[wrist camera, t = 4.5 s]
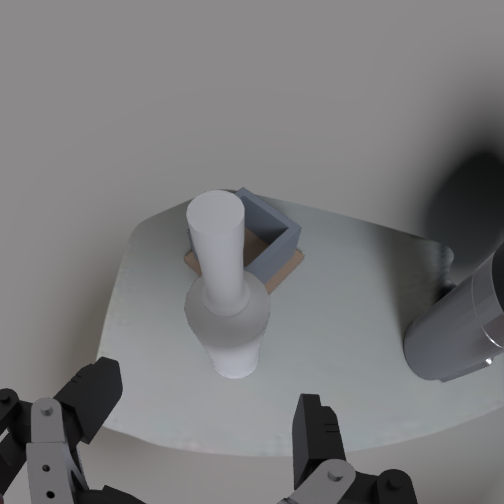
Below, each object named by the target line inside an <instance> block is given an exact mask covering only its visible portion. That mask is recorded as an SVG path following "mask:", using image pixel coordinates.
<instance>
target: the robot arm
mask: <svg viewBox="0 0 504 504" xmlns="http://www.w3.org/2000/svg"><path fill="white" fill-rule="evenodd" d="M404 352H405V357H406V360H407V362H408V364H409V366H410V368H411V369H412V370H413V371H414V373H416V374H417V375H418V376H419V377H421V378H424V379H427V380H436V379H439V380H441V381H442V382H447V381H450V380H453V379H456V378H458V377H461V376H464V375H467V374H469V373H472V372H475V371H477V370H480V369H482V368H485V367H487V366H489V365H491V363H492V361H493V358H494V357H495V356H497V355H499V354H501V353H503V352H504V243H503V244H502V245H501V246H500V247H499V248H498V249H497V250H496V251H495V252H494V253H493V254H492V255H491V256H490V257H489V258H488V259H487V260H486V261H484V262H483V263H482V264H481V265H480V266H479V267H478V268H477V269H476V270H475V271H474V272H473V273H472V274H470V275H469V276H468V277H467V278H466V279H465V280H464V281H462V282H461V283H460V284H459V285H458V286H457V287H455V288H454V289H453V290H452V291H451V292H449V293H448V294H447V295H446V296H444V297H443V298H442V299H441V300H439V301H438V302H437V303H436V304H434V305H433V306H432V307H431V308H429V309H428V310H427V311H425V312H423V313H422V314H421V315H420V316H418V317H417V318H416V319H415V320H414V321H413V322H412V323H411V324H410V325H409V327H408V329H407V331H406V334H405V338H404ZM122 391H123V386H122V380H121V374H120V367H119V363H118V361H116V360H113V359H109V358H106V357H100V358H99V359H98V361H97V362H96V363H95V364H94V365H93V364H89V365H87V366H85V367H83V368H81V369H80V370H79V371H78V372H77V373H76V376H74V377H73V378H72V379H71V381H69V382H68V383H67V384H66V385H65V386H64V387H63V388H62V389H61V390H60V391H59V392H58V393H57V394H56V395H55V396H54V397H53V398H41V399H38V400H37V401H35V402H34V403H29V402H25V401H21V400H19V398H18V395H17V393H16V392H15V391H13V390H12V389H8V388H5V389H1V390H0V435H1V434H2V433H3V432H4V430H5V429H6V428H7V430H8V432H9V433H8V434H7V435H6V436H5V438H4V439H3V440H2V441H1V442H0V504H4V499H3V495H4V494H5V492H6V491H7V489H8V487H9V486H10V484H11V482H12V481H13V480H14V478H15V477H16V475H17V474H18V472H19V471H20V469H21V468H22V466H23V465H24V463H25V462H26V460H27V469H28V479H29V488H30V495H31V502H32V504H146V503H144V502H142V501H141V500H139V499H137V498H135V497H134V496H132V495H130V494H127V493H125V492H122V491H119V490H117V489H114V488H112V487H109V486H107V485H105V486H104V488H103V490H90V489H89V487H88V485H87V482H86V479H85V476H84V472H83V467H82V463H81V459H80V455H79V450H78V446H77V444H78V443H79V441H82V442H84V443H86V444H90V442H91V440H92V439H93V438H94V436H95V435H96V433H97V432H98V430H99V429H100V427H101V426H102V424H103V423H104V421H105V420H106V418H107V417H108V416H109V414H110V413H111V411H112V410H113V408H114V407H115V405H116V404H117V402H118V401H119V399H120V398H121V395H122ZM292 440H293V467H294V490H296V491H295V492H293V493H292V494H291V495H290V496H289V497H288V498H284V499H282V500H281V501H280V502H278V503H277V504H418V503H417V499H416V495H415V492H414V488H413V485H412V481H411V479H410V477H409V476H408V474H406V473H405V472H403V471H401V470H397V469H390V470H386V471H384V472H382V473H381V474H380V475H379V476H375V475H368V474H364V473H360V472H357V471H355V470H354V468H353V466H352V465H351V464H349V463H348V462H347V461H346V457H345V453H344V448H343V443H342V439H341V434H340V429H339V426H338V420H337V416H336V414H335V413H334V411H333V410H332V409H331V408H330V406H321V402H320V397H319V395H318V394H301V395H300V397H299V401H298V405H297V408H296V412H295V415H294V419H293V425H292Z"/></svg>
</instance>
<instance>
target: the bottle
mask: <svg viewBox="0 0 504 504" xmlns="http://www.w3.org/2000/svg"><path fill="white" fill-rule="evenodd" d="M186 216H187V221H188V225H189V229H190V233H191V237H192V241H193V245H194V248H195V252H196V253H197V255H198V259H199V263H200V267H201V271H202V276H201V277H199V278H198V279H197V280H195V282H194V283H193V285H192V286H191V288H190V290H189V291H188V293H187V296H186V302H185V313H186V317H187V320H188V324H189V326H190V327H191V329H192V330H193V332H194V334H195V335H196V337H197V338H198V340H199V341H200V343H201V344H202V346H203V347H204V349H205V350H206V352H207V353H208V355H209V356H210V358H211V361H212V364H213V367H214V368H215V369H216V370H217V371H218V373H219V374H220V375H222V376H224V377H226V378H228V379H241V378H244V377H247V376H248V375H249V374H251V373H252V372H253V371H254V370H255V368H256V365H257V363H258V359H259V349H260V345H261V342H262V339H263V336H264V332H265V329H266V326H267V322H268V319H269V316H270V298H269V295H268V293H267V291H266V288H265V286H264V284H263V283H262V282H261V281H260V280H259V279H258V278H256V277H255V276H254V275H253V274H252V273H249V272H247V271H245V270H243V248H244V224H245V208H244V205H243V203H242V201H241V200H240V199H239V198H238V197H237V196H236V195H235V194H233V193H230V192H227V191H224V190H212V191H208V192H205V193H202V194H200V195H199V196H197V197H195V198H194V199H193V200H192V201H191V203H190V204H189V205H188V208H187V213H186Z"/></svg>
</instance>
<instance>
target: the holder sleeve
mask: <svg viewBox="0 0 504 504" xmlns="http://www.w3.org/2000/svg"><path fill="white" fill-rule="evenodd" d="M234 194H235V195H236V196H237V197H238V198H239V199H240V200H241V201H242V203H243V205H244V208H245V224H244V248H243V270H245V271H247V272H249V273H252V274H253V275H254V276H255V277H256V278H258V279H259V280H260V281H261V282H262V283H263V284H264V286H265V288H266V291H267V293H268V295H269V294H270V293H271V292H272V291H273V290H274V289H275V288H276V287H277V286H278V285H279V284H280V283H281V282H282V281H283V280H284V279H285V278H286V277H287V276H288V275H289V274H290V273H291V272H292V271H293V270H294V269H295V268H296V266H297V265H298V264H299V263H300V262H301V261H302V260H303V259H304V256H305V255H304V254H302V253H301V252H300V251H298V250H297V249H296V246H297V243H298V239H299V235H300V232H301V228H302V227H300V226H299V225H298V224H296V223H295V222H293V221H292V220H290V219H289V218H288V217H286V216H285V215H283V214H282V213H280V212H279V211H278V210H276V209H275V208H273V207H272V206H270V205H269V204H267V203H266V202H265V201H263V200H262V199H260V198H259V197H257V196H256V195H254V194H253V193H251V192H250V191H248V190H247V189H245V188H244V187H243V188H241V189H240V190H239V191H237V192H236V193H234ZM187 231H188V235H189V239H190V243H191V247H192V250H193V251H192V252H190V253H189V254H188V255H187V256H186V257H184V260H185V262H186V263H187V264H188V265H189V266H190V267H191V268H192V269H193V270H194V271H195V272H196V273H197V274H198V275H199V276H202V271H201V267H200V263H199V259H198V255H197V253H196V252H195V248H194V245H193V241H192V237H191V233H190V229H187Z"/></svg>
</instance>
